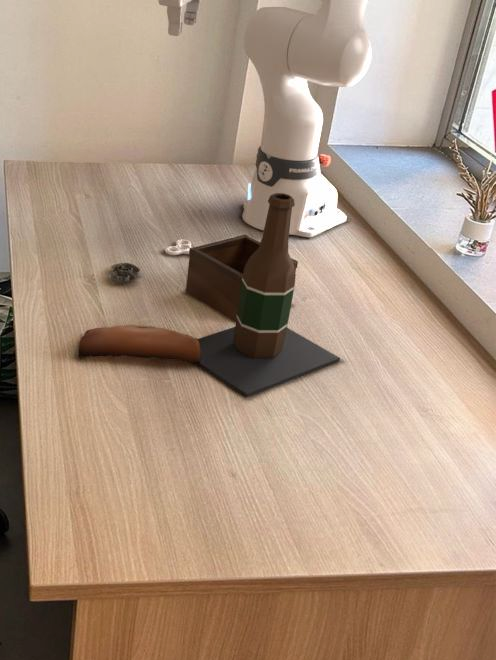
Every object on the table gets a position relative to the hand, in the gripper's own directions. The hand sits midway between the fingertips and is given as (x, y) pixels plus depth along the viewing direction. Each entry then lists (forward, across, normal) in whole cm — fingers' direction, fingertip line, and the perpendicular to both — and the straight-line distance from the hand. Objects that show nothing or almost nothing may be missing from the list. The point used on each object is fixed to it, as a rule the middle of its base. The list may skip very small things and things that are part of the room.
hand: (182, 29), depth 149 cm
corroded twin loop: (+39, -9, +4) cm, 40 cm away
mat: (+39, -27, -23) cm, 53 cm away
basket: (+39, -9, -16) cm, 43 cm away
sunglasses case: (+39, -34, -6) cm, 52 cm away
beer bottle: (+39, -25, -22) cm, 51 cm away
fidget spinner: (+39, +6, -3) cm, 40 cm away
